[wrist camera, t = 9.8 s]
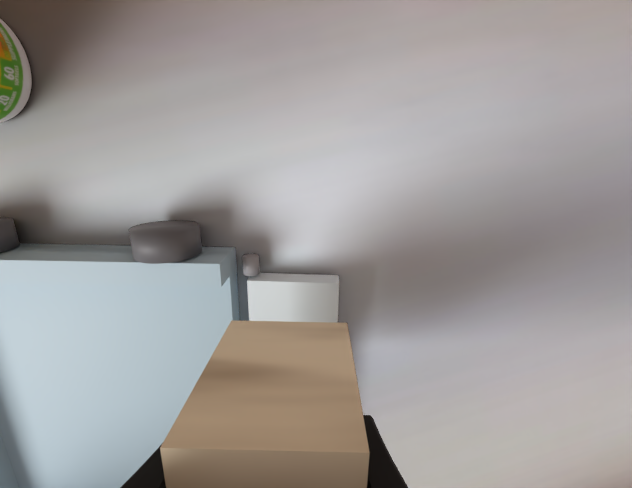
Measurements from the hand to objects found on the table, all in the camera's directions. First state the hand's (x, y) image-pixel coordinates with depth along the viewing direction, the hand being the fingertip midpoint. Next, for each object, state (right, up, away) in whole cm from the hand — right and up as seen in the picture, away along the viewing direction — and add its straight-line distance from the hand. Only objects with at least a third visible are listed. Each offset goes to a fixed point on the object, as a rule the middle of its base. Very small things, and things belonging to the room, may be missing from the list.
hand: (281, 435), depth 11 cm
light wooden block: (0, +1, +3) cm, 3 cm away
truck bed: (-12, -2, +9) cm, 15 cm away
